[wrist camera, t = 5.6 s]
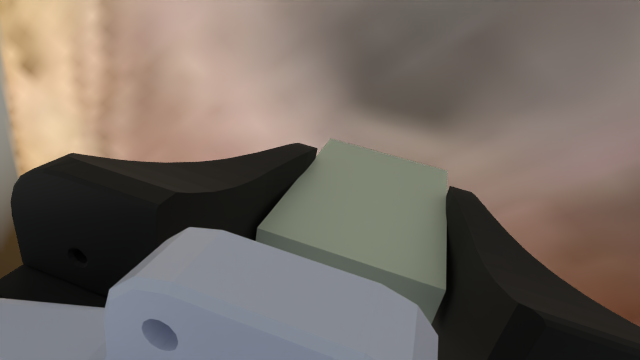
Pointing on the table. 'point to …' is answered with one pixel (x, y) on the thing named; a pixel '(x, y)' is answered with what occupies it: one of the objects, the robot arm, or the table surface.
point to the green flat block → (368, 220)
